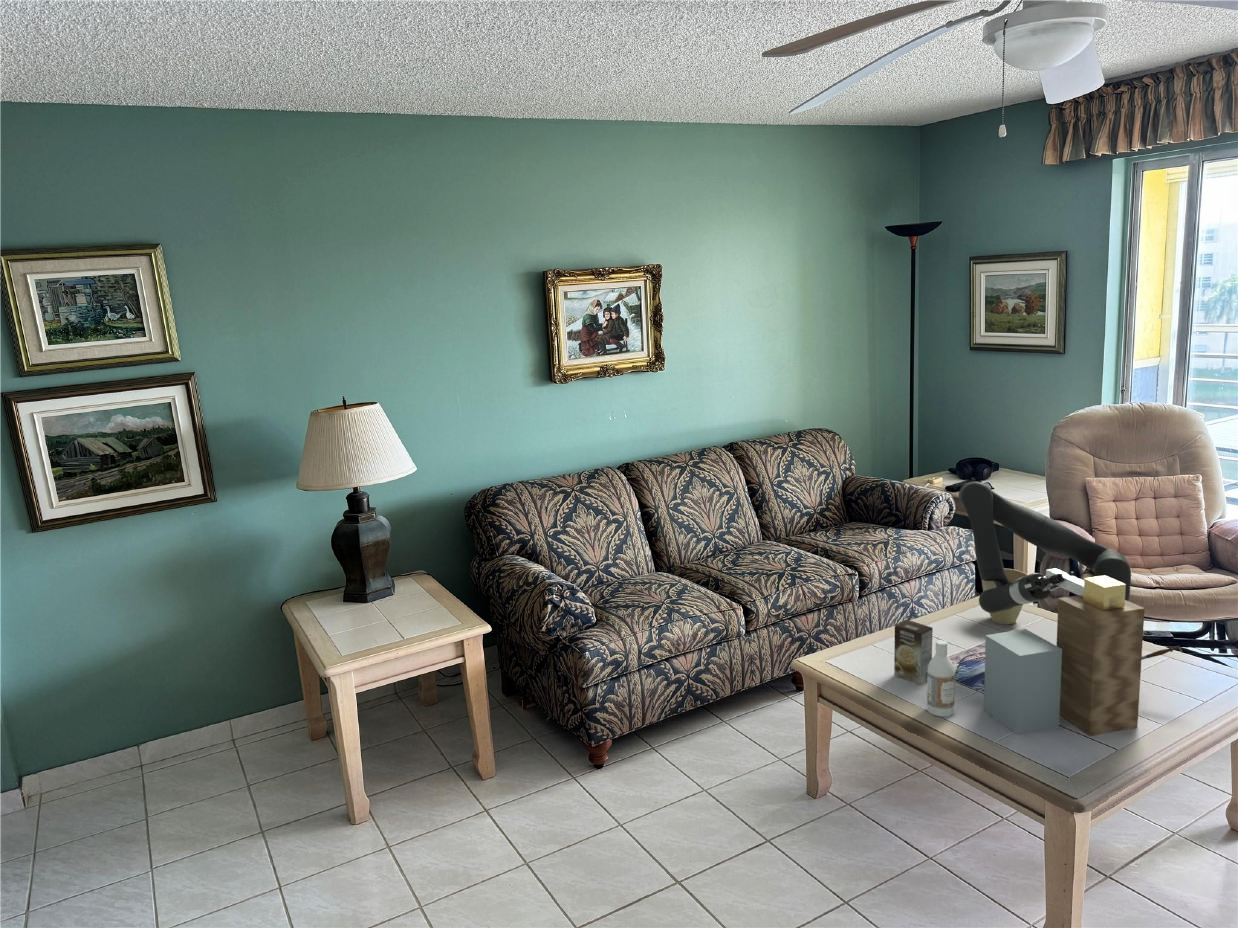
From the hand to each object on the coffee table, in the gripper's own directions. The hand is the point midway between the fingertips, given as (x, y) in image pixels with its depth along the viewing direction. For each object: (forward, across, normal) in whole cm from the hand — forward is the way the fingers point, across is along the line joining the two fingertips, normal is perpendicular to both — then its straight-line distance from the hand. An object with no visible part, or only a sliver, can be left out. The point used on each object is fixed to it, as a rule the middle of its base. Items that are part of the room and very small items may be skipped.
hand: (1067, 576), depth 232 cm
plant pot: (-64, +20, +4) cm, 67 cm away
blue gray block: (-13, -17, +33) cm, 40 cm away
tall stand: (-7, 0, +37) cm, 37 cm away
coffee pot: (-14, +19, +33) cm, 41 cm away
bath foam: (-21, -34, +28) cm, 49 cm away
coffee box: (-40, -30, +18) cm, 53 cm away
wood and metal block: (+3, 0, +5) cm, 6 cm away
